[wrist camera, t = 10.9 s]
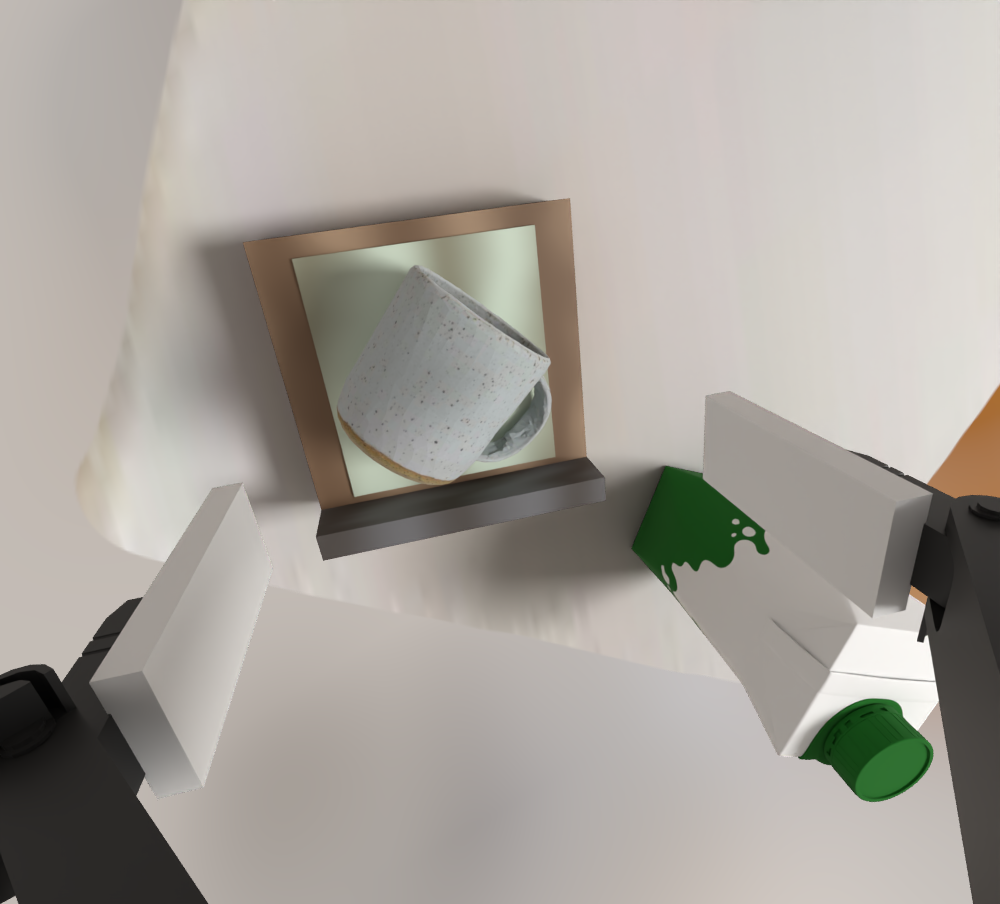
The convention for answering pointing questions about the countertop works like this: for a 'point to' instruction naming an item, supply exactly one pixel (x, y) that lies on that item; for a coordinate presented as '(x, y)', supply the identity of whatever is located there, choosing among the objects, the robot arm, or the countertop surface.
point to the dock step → (349, 326)
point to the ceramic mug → (442, 384)
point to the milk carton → (796, 640)
